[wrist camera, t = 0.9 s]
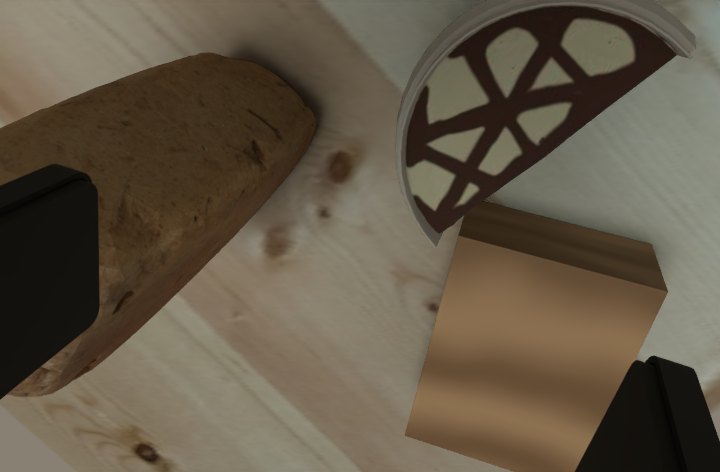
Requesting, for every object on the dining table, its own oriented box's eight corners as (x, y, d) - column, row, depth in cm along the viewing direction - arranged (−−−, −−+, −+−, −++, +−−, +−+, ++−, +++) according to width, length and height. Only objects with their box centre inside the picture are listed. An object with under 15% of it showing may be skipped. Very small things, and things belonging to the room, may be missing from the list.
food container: (573, -94, 27) (585, -109, 18) (658, 12, 28) (708, 45, 19) (381, 91, 33) (322, 146, 24) (456, 174, 34) (425, 255, 25)
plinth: (469, 198, 34) (458, 235, 30) (651, 244, 32) (667, 291, 28) (419, 382, 41) (404, 435, 36) (568, 429, 39) (571, 490, 35)
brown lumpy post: (239, 25, 33) (-93, 118, 16) (341, 115, 34) (129, 297, 17) (156, 161, 39) (-158, 339, 21) (246, 236, 39) (11, 468, 22)
